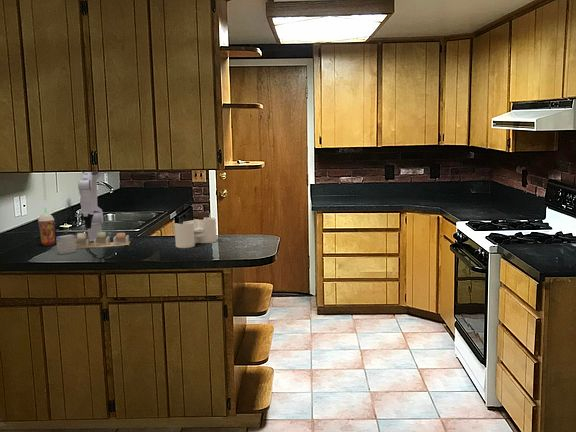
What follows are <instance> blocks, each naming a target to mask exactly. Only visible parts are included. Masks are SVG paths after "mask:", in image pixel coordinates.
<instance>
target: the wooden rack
mask: <svg viewBox="0 0 576 432" xmlns="http://www.w3.org/2000/svg"><path fill="white" fill-rule="evenodd" d="M75 243H76V250H80V249H81V250H82V249H98V248H111V247H113V246H114V247H125V245H128V246H130V243H131V240H130V235H129V234H127V235H126V234H125V237H121V238H117V235H115V236H114V237H113V241H112V242H111V239H110V236H109V235H108V236H106V238H105V239H97V237H95V238H94V241H93V243H91V241H90V238H88V237H86V240H78V239H77V238H76V237H75ZM114 247H113V248H114Z"/></svg>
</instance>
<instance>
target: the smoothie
mask: <svg viewBox="0 0 576 432" xmlns="http://www.w3.org/2000/svg"><path fill="white" fill-rule="evenodd" d="M37 221H38V222H37V223H38V229H39V235H40V241H41V242H40V243H41V244H42V245H43V246H52V245H55V243H56V242H55V241H56V233H55V232H56V229H55V227H56V226H55V218H54V217H53V215H52V214H51V213H49V212H47V209H46V207H44V213H42V214H40V215H39V217H38V219H37Z"/></svg>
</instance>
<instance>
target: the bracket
mask: <svg viewBox="0 0 576 432" xmlns="http://www.w3.org/2000/svg"><path fill="white" fill-rule="evenodd" d="M216 221H217V220H216V218H215V217H203V219H193V220H188V221H187V220H186V221H183V222H182V223H173V224H174V236H175V237H174V239H175V247H176V248H179V249H188V248H189V249H190V248H193V247H195V245H196V244H197V243H198V244H211V243H212V244H213V243H216V242H217V241H218V239H217V225H216V223H217V222H216Z"/></svg>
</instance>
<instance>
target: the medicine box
mask: <svg viewBox="0 0 576 432" xmlns="http://www.w3.org/2000/svg"><path fill="white" fill-rule="evenodd" d="M75 239H76V235H75V234H66V235H60V236H55V241H56V249H57V250H56V251H57V255H61V256H63V255H67V254H72V253H77V249H76V243H75Z"/></svg>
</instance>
